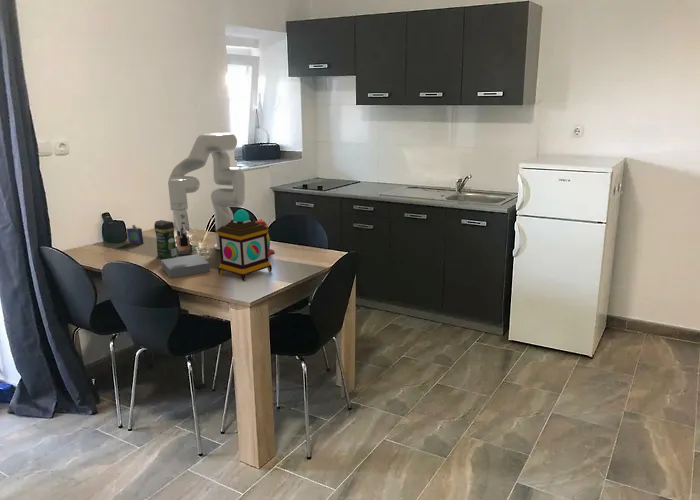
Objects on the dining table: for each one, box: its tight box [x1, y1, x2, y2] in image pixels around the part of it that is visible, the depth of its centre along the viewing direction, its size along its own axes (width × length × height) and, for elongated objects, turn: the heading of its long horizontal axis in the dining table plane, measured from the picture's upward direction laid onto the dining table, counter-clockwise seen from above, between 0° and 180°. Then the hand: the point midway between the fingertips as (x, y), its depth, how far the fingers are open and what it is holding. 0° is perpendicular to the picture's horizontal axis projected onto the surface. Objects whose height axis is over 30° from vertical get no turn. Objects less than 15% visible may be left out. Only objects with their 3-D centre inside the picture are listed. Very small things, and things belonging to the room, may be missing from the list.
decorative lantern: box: [215, 208, 273, 282], centre depth 262 cm, size 20×20×30 cm
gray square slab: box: [160, 253, 211, 279], centre depth 273 cm, size 18×18×4 cm
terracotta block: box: [175, 235, 191, 252], centre depth 270 cm, size 5×5×6 cm
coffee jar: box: [153, 219, 178, 259], centre depth 293 cm, size 10×8×19 cm
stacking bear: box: [255, 219, 276, 258], centre depth 293 cm, size 11×10×18 cm
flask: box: [125, 224, 144, 246], centre depth 320 cm, size 9×3×11 cm, turn 76°
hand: (182, 244), depth 270 cm, fingers closed on terracotta block, 4 cm apart
